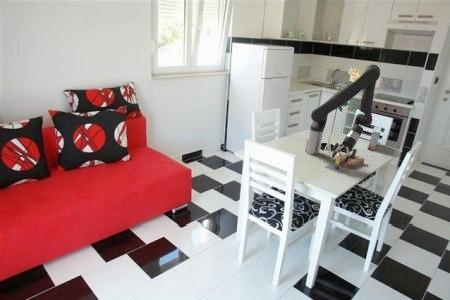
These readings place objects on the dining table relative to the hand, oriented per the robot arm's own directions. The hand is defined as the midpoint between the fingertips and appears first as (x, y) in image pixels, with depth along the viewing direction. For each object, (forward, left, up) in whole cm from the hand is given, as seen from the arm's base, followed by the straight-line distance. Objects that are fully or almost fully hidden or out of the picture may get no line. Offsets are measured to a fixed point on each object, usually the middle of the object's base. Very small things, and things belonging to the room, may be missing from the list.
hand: (338, 159), depth 204 cm
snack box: (-6, +67, -7) cm, 67 cm away
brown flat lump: (0, +17, -7) cm, 18 cm away
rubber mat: (0, 0, -7) cm, 7 cm away
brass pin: (0, 0, -6) cm, 6 cm away
